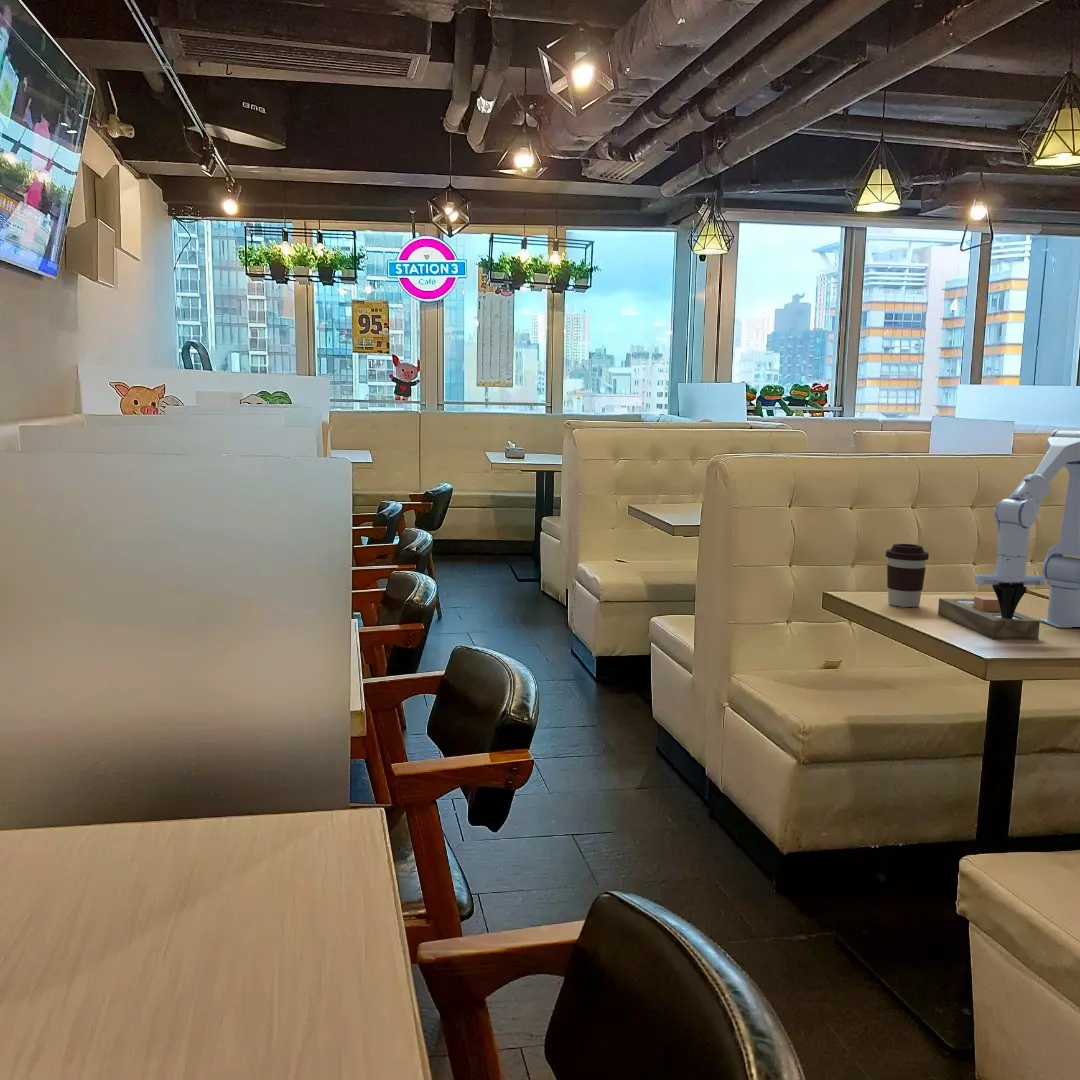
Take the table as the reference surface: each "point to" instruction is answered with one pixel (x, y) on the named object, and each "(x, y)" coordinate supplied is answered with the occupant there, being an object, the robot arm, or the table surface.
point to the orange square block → (986, 603)
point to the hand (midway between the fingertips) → (1006, 617)
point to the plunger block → (989, 621)
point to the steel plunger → (966, 602)
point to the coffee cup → (905, 574)
